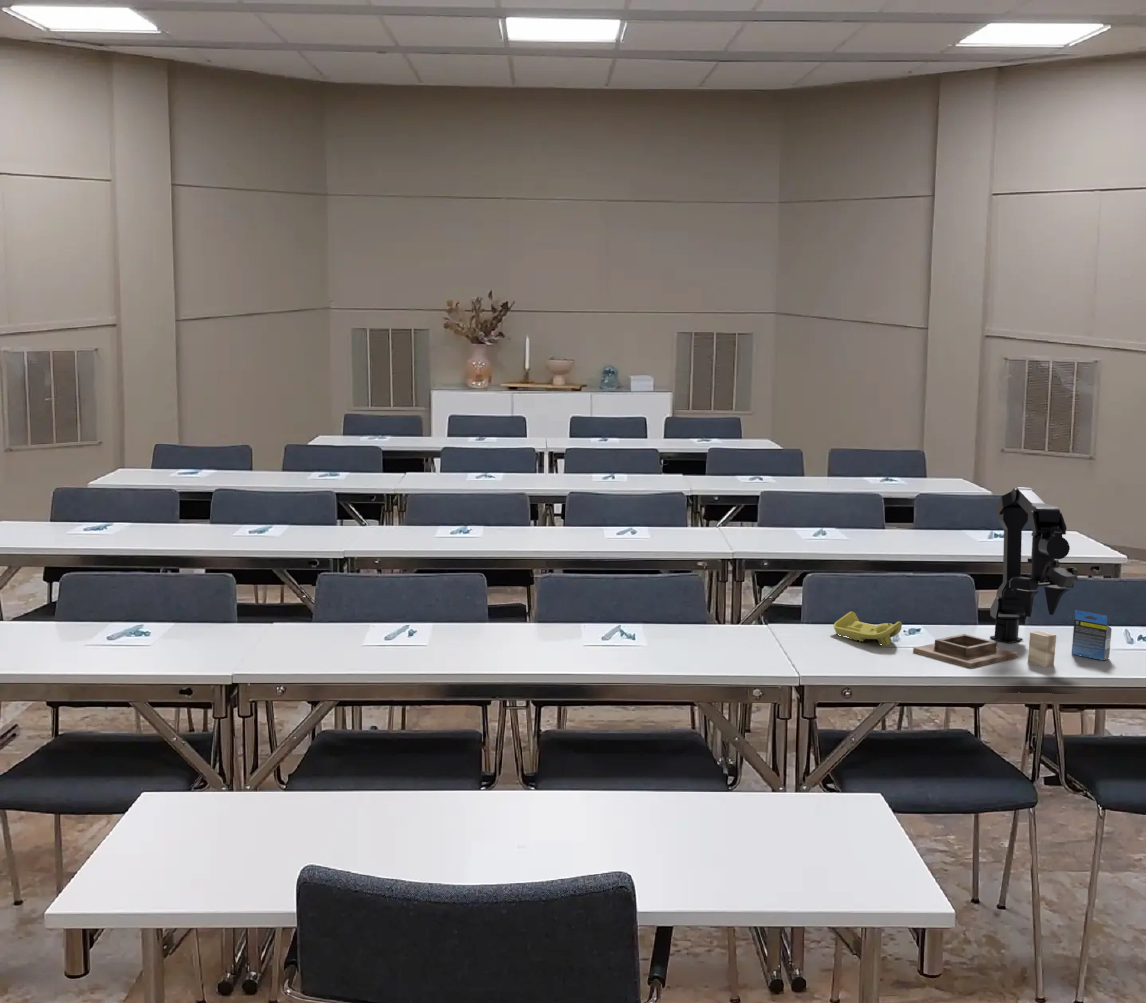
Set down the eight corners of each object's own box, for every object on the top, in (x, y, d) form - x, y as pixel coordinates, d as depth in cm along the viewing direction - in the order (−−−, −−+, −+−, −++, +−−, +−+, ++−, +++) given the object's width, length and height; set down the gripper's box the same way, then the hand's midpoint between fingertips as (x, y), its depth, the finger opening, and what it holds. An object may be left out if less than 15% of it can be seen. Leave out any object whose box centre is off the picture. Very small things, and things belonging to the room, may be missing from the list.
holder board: (959, 642, 352) (960, 629, 352) (1017, 657, 338) (1018, 643, 338) (913, 652, 340) (914, 638, 340) (970, 668, 326) (971, 653, 326)
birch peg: (1036, 660, 336) (1039, 630, 335) (1053, 664, 332) (1056, 634, 331) (1027, 662, 333) (1030, 632, 332) (1044, 667, 329) (1047, 636, 328)
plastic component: (829, 626, 357) (854, 608, 361) (838, 648, 359) (863, 630, 363) (878, 637, 340) (904, 618, 344) (887, 661, 342) (913, 641, 346)
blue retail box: (1109, 659, 339) (1114, 613, 337) (1103, 661, 336) (1107, 615, 335) (1076, 652, 345) (1080, 607, 344) (1070, 654, 343) (1074, 609, 341)
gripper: (1046, 559, 318) (1043, 622, 319) (1093, 557, 328) (1090, 618, 329) (1009, 555, 327) (1006, 616, 328) (1055, 553, 337) (1052, 612, 338)
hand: (1040, 615), depth 331 cm, fingers open, 9 cm apart
